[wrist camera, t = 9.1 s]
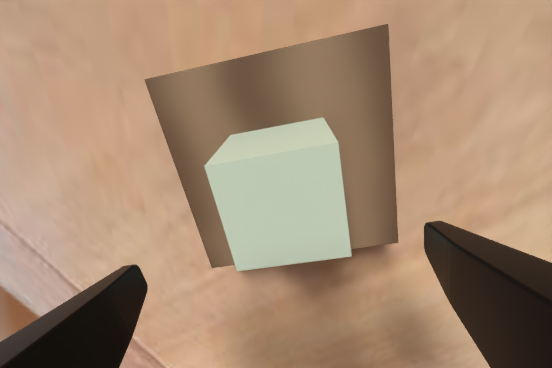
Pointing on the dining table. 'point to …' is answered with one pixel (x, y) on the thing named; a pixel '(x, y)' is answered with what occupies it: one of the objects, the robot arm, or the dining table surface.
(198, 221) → the walnut base
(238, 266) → the sage cube
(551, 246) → the dining table surface
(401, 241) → the dining table surface
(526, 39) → the dining table surface
